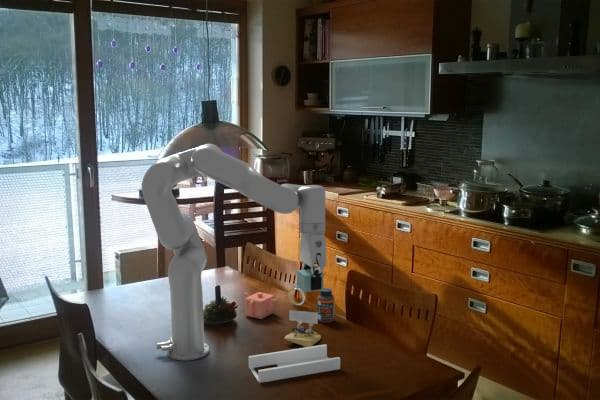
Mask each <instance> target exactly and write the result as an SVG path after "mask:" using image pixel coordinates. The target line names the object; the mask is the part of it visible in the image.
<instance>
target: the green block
mask: <svg viewBox="0 0 600 400" xmlns="http://www.w3.org/2000/svg"><path fill="white" fill-rule="evenodd" d="M317 269H318V268H315V269H314V270H315V271H316V270H317ZM296 272H297V273H296V285H297V287H299V288H300V289H301V290H302V291H304V292H305V293H309V292H310V293H311V292H317V291H318V292H320V290H323V288H324V273H323V272H322V288H321V289H319V290H311V277H312V271H311V269H305V270H302V269H297V270H296Z"/></svg>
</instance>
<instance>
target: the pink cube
mask: <svg viewBox="0 0 600 400" xmlns="http://www.w3.org/2000/svg"><path fill="white" fill-rule="evenodd" d="M243 294H244V295H245V297H244V312H245V314H244V315H245V316H247V317H251V318H255V319H259V320H264V319H265V318H266V317H268V316H270V315H273V314H274V313H275V312H276V301H278V299H277V298H276V295H275V294H270V293H265V292H261V291H257V292H256V293H254V294H251V295H250V294H249V293H248V292H245V291H244V292H243Z"/></svg>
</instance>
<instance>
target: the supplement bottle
mask: <svg viewBox="0 0 600 400" xmlns="http://www.w3.org/2000/svg"><path fill="white" fill-rule="evenodd" d="M319 293H320V294H318V295H317V301H316V302H317V307H316V308H317V309H316V312H317V313H318V322H320V323H323V324H328V323H329V324H330V323H332V322H334V320H335V296H334V295H333V289H331V288H328V287H323V290H319Z"/></svg>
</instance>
